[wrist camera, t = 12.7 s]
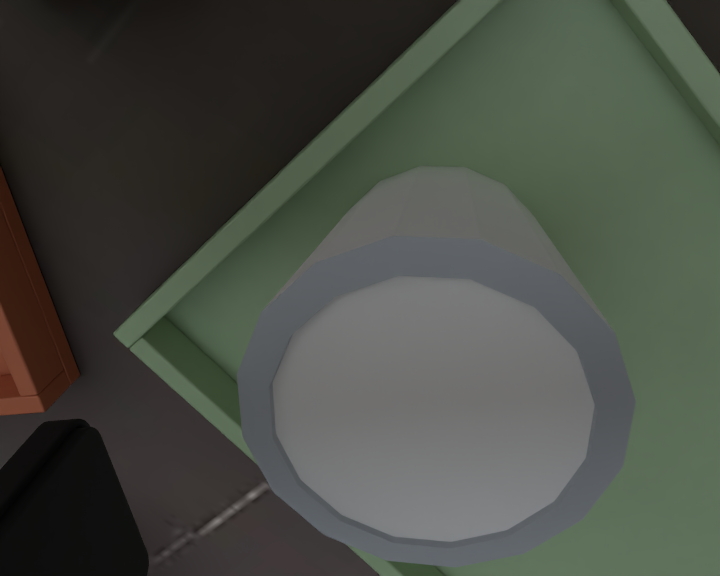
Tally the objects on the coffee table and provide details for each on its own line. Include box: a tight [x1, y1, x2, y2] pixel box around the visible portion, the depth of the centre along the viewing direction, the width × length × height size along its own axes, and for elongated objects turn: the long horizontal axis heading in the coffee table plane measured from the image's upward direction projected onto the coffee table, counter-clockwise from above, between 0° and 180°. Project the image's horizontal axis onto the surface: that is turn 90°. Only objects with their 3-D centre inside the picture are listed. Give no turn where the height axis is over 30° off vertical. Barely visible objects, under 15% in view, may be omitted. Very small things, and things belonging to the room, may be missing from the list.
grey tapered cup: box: [237, 166, 636, 567], centre depth 15 cm, size 7×7×7 cm
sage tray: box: [113, 0, 720, 576], centre depth 20 cm, size 29×15×2 cm, turn 43°
